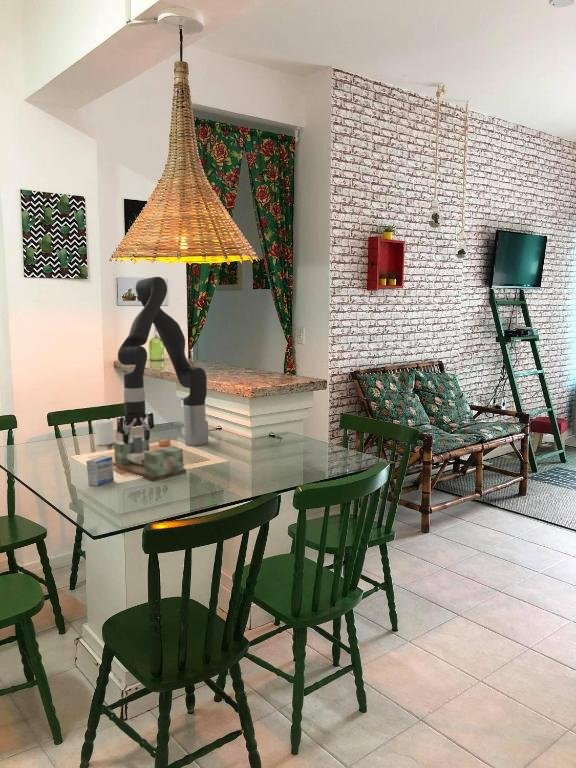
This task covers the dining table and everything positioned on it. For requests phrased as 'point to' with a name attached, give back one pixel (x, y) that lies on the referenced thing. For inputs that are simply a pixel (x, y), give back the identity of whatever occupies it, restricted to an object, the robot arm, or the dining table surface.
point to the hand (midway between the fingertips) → (136, 442)
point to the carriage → (137, 451)
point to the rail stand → (150, 461)
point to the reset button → (164, 443)
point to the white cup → (104, 431)
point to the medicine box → (100, 470)
